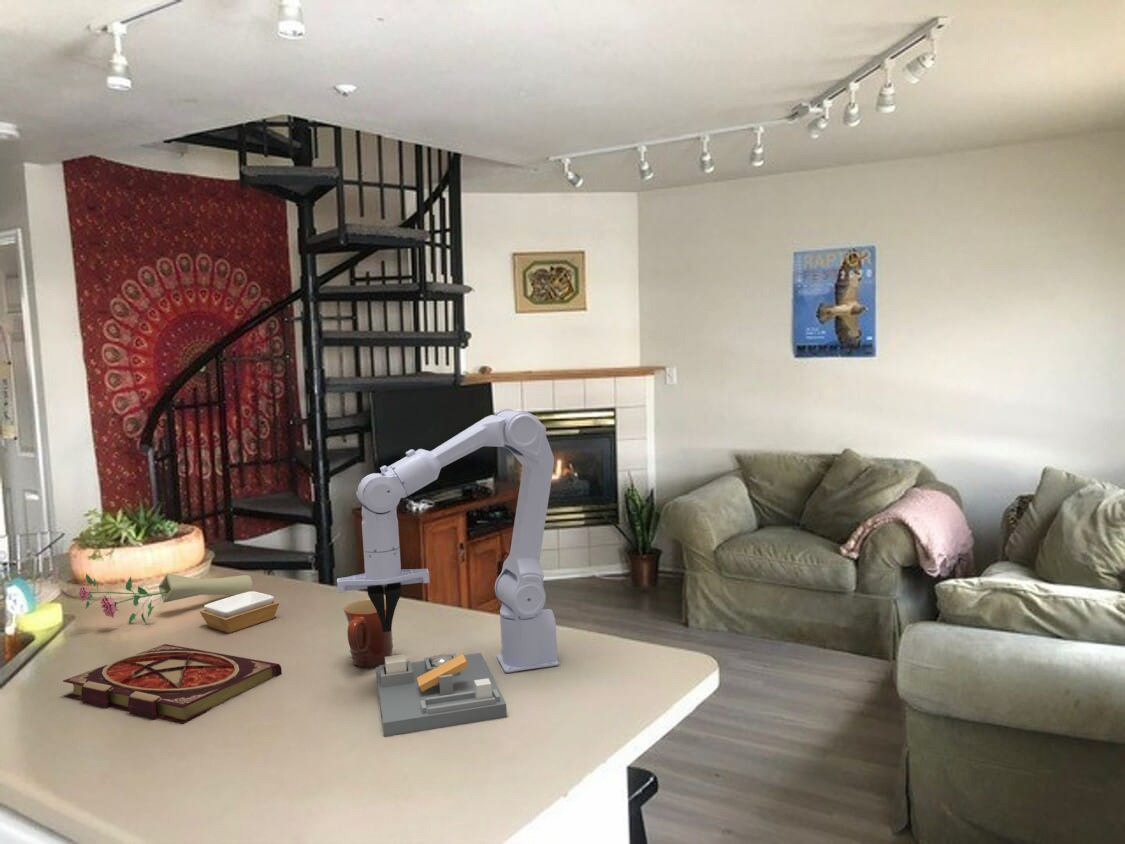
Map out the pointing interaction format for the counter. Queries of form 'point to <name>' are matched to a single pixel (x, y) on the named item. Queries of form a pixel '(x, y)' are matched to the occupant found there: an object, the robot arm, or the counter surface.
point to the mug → (367, 634)
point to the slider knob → (482, 689)
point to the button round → (440, 659)
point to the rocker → (442, 672)
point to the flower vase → (174, 590)
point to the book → (170, 682)
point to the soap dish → (239, 611)
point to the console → (436, 697)
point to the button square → (395, 664)
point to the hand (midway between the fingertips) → (386, 629)
